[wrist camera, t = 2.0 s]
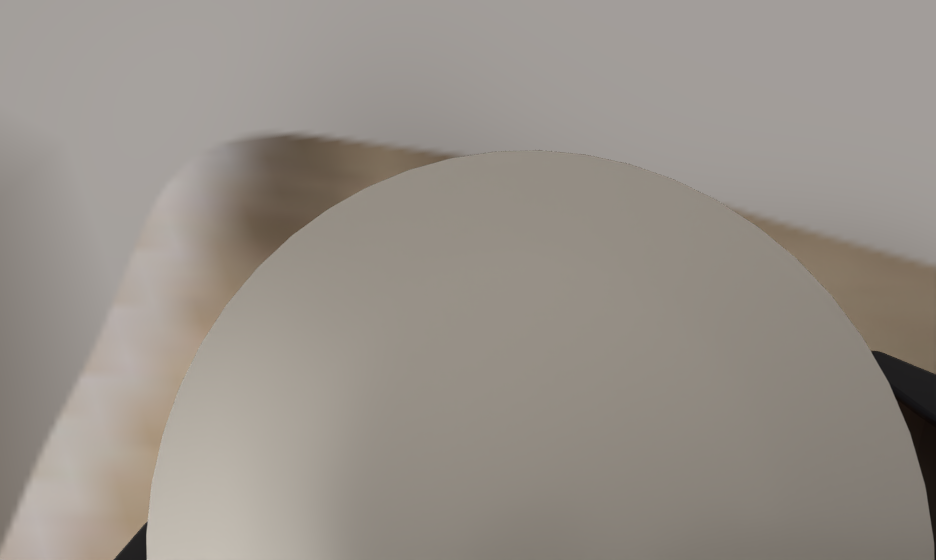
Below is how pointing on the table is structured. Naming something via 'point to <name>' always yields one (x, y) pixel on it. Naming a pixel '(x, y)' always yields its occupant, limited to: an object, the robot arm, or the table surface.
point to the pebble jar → (535, 386)
